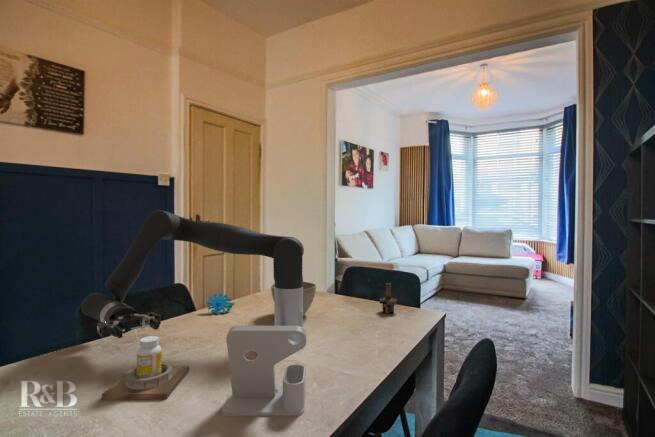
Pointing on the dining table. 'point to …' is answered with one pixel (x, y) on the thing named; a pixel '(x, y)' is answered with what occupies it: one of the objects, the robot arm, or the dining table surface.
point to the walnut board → (146, 393)
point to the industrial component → (388, 300)
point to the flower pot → (307, 294)
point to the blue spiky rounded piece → (220, 303)
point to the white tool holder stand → (264, 372)
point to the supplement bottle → (149, 357)
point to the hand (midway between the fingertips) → (139, 329)
